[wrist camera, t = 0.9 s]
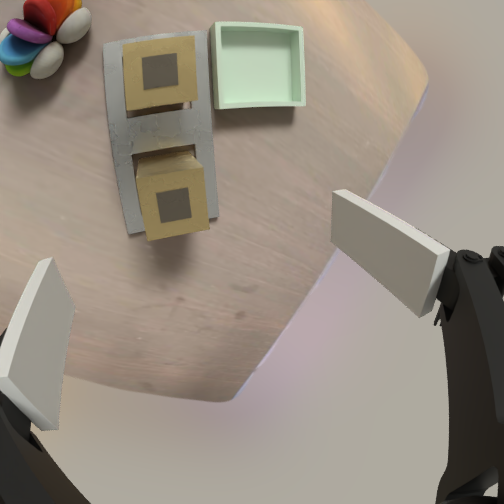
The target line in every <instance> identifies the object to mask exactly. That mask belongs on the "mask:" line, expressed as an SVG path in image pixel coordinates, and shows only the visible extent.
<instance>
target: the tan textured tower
mask: <svg viewBox="0 0 504 504" xmlns="http://www.w3.org/2000/svg"><path fill="white" fill-rule="evenodd" d="M123 68H124V84H125V96H126V108H127V111H134V110H139V109H145V108H151V107H157V106H164V105H171V104H178V103H185V102H191V101H197V100H198V91H197V74H196V55H195V35H194V36H181V37H170V38H161V39H153V40H146V41H140V42H134V43H128V44H123Z"/></svg>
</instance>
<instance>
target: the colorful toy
mask: <svg viewBox="0 0 504 504" xmlns="http://www.w3.org/2000/svg"><path fill="white" fill-rule="evenodd" d="M81 6H82V1H81V0H26V1H25V3H24V6H23V11H22V12H23V17H24V20H21V19H12V20H10V21H9V22H8V24H7V28H5V29H4V30H3V31H2V33H1V34H0V61H1V62H2V63H3V64H5V67H6V70H7V71H8V72H9V73H10V74H12V75H13V76H24V75H26V74H28V73H30V75H31V77H33V78H35V79H43V78H46V77H49V76H51V75H52V74H53V73H55V72H56V70H57V69H58V68H59V67H60V65H61V63H62V61H63V57H64V51H63V47H62V46H61V43H65V44H68V43H73V42H75V41H78V40H79V39H81V38H82V37H83V36H84V35H85V34H86V33H87V31H88V30H89V28H90V26H91V21H92V17H91V14H90V12H89V10H88V9H87V8H81ZM53 35H56V41H54V42H51V40H52V37H53Z"/></svg>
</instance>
